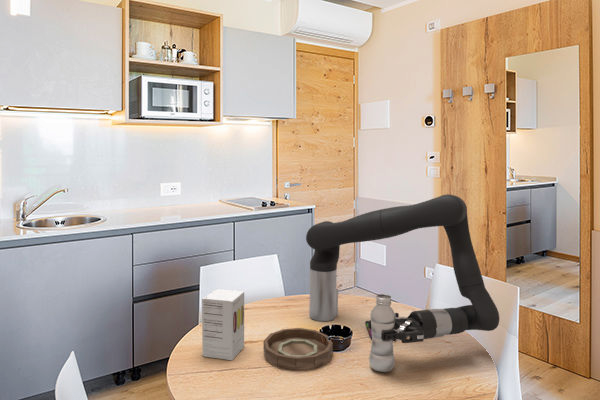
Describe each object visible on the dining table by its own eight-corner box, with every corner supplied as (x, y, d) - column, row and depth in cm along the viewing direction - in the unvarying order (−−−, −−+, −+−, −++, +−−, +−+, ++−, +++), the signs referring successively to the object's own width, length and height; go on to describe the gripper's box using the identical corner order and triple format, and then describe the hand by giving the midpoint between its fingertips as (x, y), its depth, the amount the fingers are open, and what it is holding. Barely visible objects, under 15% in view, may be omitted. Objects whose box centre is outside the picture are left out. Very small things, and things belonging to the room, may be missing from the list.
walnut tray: (300, 333, 135) (300, 323, 135) (345, 355, 122) (345, 343, 121) (250, 352, 123) (250, 340, 122) (294, 378, 109) (295, 365, 108)
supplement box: (232, 361, 117) (232, 301, 116) (201, 357, 120) (200, 298, 118) (245, 346, 127) (245, 290, 125) (216, 342, 129) (215, 287, 127)
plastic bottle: (394, 376, 110) (397, 301, 108) (368, 373, 112) (370, 299, 109) (394, 364, 117) (397, 293, 114) (369, 362, 118) (371, 291, 116)
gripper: (416, 301, 123) (363, 306, 119) (447, 320, 110) (389, 327, 105) (415, 326, 124) (362, 333, 119) (445, 348, 111) (388, 356, 106)
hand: (375, 330), depth 112 cm, fingers open, 7 cm apart
